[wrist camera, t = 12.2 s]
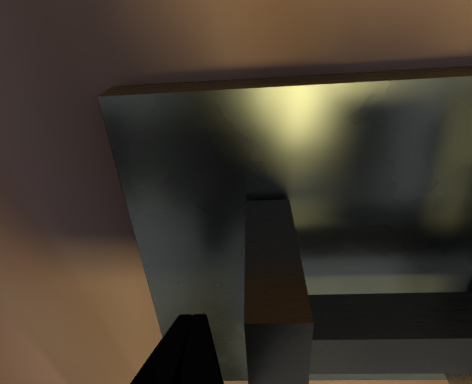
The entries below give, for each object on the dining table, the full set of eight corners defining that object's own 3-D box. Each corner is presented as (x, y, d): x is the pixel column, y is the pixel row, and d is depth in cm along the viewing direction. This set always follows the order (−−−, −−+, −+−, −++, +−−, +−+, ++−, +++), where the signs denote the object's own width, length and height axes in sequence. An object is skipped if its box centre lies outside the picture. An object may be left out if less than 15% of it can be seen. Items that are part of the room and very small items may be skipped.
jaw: (255, 370, 13) (257, 502, 10) (241, 132, 8) (236, 231, 5) (496, 369, 13) (587, 508, 9) (641, 113, 8) (956, 210, 4)
